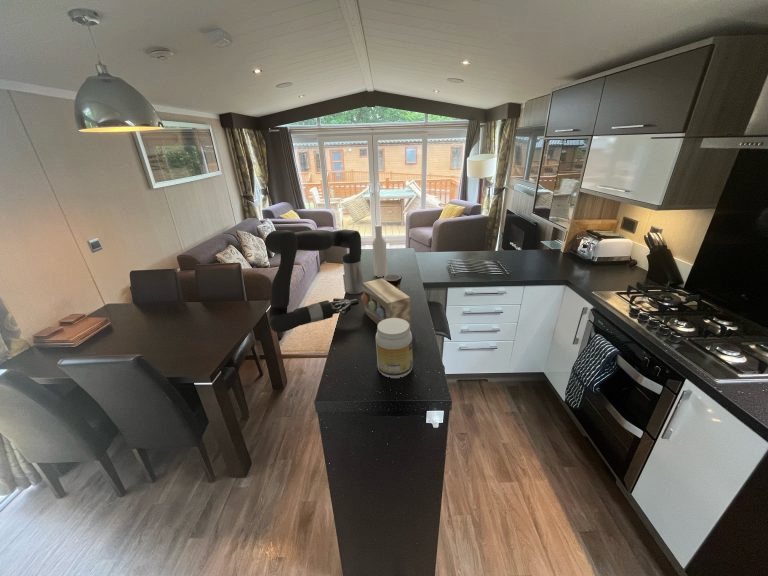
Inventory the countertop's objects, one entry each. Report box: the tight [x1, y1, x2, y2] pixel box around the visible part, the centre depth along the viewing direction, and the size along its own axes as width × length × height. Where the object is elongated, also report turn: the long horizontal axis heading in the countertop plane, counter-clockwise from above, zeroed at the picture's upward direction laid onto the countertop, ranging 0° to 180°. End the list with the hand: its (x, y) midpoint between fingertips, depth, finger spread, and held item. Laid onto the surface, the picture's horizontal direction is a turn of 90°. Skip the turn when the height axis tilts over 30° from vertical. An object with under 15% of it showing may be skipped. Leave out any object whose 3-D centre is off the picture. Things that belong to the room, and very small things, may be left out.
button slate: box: [376, 307, 385, 319], centre depth 124 cm, size 2×4×4 cm, turn 27°
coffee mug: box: [383, 273, 403, 291], centre depth 159 cm, size 12×9×10 cm
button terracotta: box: [360, 294, 369, 305], centre depth 137 cm, size 2×4×4 cm, turn 28°
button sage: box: [368, 300, 377, 311], centre depth 131 cm, size 2×4×4 cm, turn 28°
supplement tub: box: [375, 318, 414, 379], centre depth 103 cm, size 12×12×17 cm
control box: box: [362, 277, 411, 329], centre depth 134 cm, size 10×24×15 cm, turn 27°
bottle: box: [372, 224, 388, 278], centre depth 181 cm, size 8×8×30 cm
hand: (357, 301), depth 135 cm, fingers closed
